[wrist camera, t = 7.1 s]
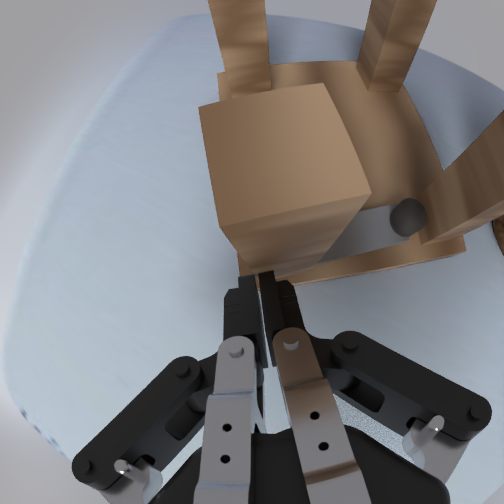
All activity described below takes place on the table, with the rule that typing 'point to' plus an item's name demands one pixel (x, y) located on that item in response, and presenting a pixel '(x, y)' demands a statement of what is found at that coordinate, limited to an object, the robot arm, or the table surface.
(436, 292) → the table surface
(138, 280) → the table surface
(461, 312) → the table surface
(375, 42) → the wooden peg stand
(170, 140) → the table surface
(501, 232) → the shell
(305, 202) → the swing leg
